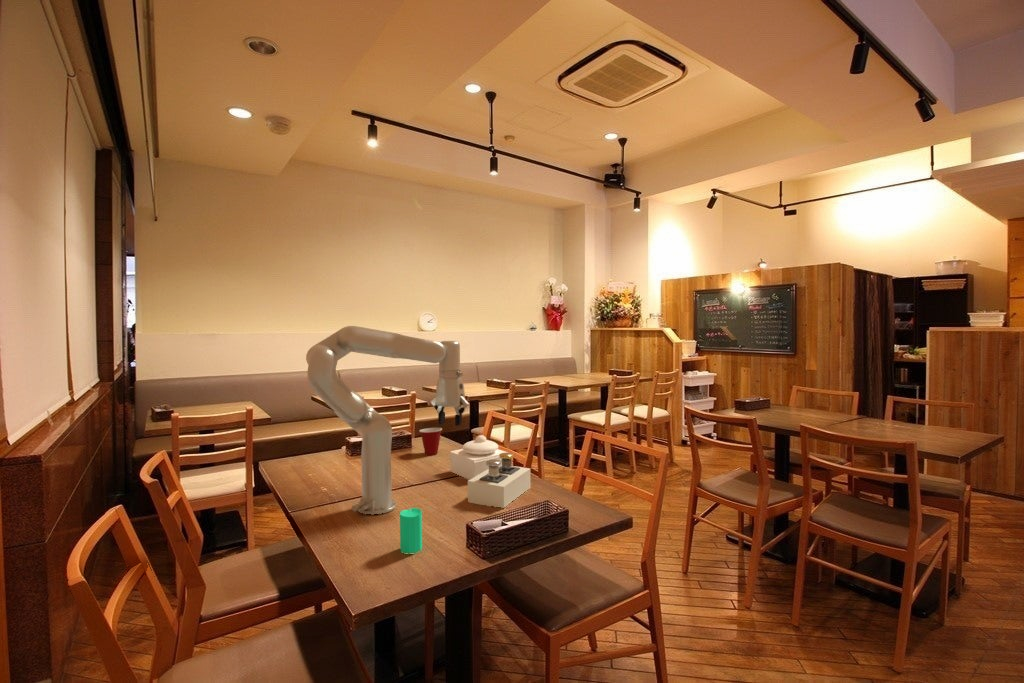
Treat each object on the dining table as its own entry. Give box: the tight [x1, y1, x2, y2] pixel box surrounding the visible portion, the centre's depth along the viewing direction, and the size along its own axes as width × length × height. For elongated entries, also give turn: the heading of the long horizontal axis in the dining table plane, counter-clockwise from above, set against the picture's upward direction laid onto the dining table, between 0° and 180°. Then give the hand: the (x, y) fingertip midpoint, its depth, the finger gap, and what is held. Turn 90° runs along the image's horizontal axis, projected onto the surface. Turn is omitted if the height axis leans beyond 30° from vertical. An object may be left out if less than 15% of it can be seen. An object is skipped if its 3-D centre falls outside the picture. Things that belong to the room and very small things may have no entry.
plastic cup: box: [419, 427, 443, 456], centre depth 228 cm, size 11×11×12 cm
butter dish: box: [449, 434, 509, 481], centre depth 199 cm, size 18×18×16 cm
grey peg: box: [486, 460, 501, 480], centre depth 168 cm, size 5×5×8 cm
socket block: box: [467, 464, 532, 509], centre depth 173 cm, size 22×14×8 cm, turn 154°
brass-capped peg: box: [499, 452, 515, 472], centre depth 177 cm, size 5×5×8 cm
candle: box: [399, 506, 423, 554], centre depth 132 cm, size 6×6×12 cm
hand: (450, 423), depth 174 cm, fingers open, 6 cm apart
